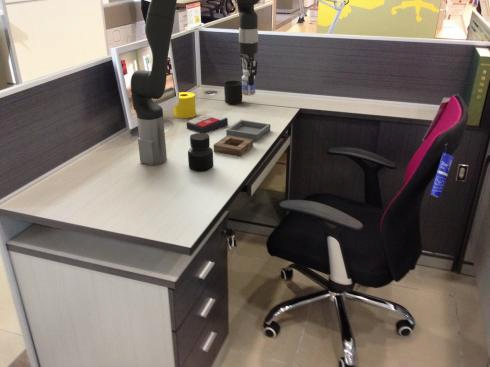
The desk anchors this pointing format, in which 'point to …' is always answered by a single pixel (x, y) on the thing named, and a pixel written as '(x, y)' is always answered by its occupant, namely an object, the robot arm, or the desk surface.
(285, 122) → the desk surface
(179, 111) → the yellow piece
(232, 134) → the tray
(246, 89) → the pill bottle
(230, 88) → the pen holder
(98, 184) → the desk surface
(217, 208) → the desk surface
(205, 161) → the ink bottle
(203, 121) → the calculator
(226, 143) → the tray
